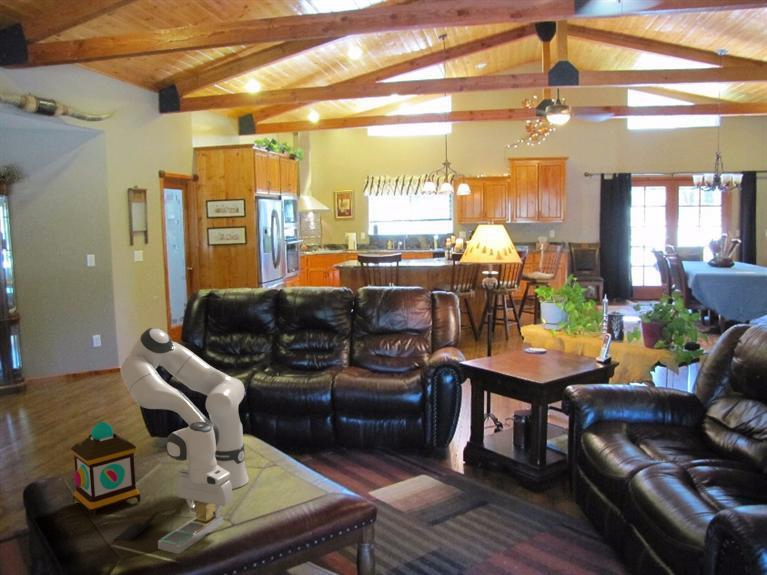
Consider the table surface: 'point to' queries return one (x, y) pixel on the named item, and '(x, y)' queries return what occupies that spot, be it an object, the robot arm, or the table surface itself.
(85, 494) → the decorative lantern
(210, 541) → the table surface
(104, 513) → the table surface
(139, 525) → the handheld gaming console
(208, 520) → the tan rectangular block
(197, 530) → the white compartment tray
